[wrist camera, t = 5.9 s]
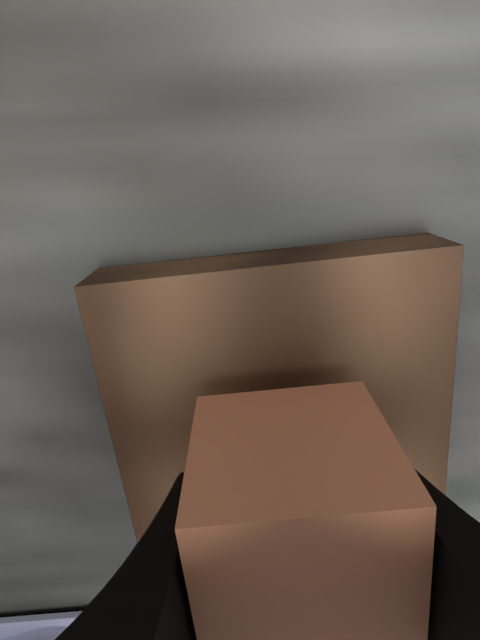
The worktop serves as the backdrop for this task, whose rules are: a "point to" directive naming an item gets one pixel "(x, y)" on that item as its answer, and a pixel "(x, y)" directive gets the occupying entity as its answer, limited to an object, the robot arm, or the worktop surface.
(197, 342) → the walnut block
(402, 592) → the terracotta cube
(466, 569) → the robot arm
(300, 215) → the worktop surface
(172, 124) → the worktop surface
